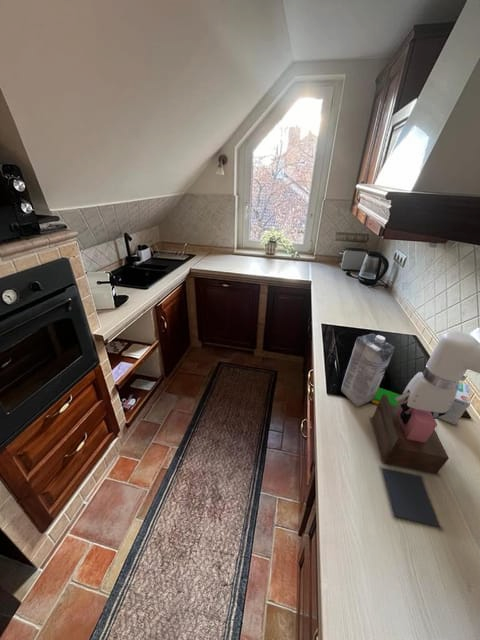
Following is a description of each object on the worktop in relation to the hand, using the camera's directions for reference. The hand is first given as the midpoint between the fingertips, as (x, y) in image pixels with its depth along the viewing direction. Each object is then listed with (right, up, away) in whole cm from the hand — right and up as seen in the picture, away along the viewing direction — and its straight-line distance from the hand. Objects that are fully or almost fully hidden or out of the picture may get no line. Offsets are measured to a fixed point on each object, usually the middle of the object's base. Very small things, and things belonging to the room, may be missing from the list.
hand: (413, 421), depth 75 cm
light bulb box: (+23, -3, +17) cm, 29 cm away
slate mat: (-7, -17, -7) cm, 20 cm away
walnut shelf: (0, -9, +6) cm, 11 cm away
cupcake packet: (0, -2, +1) cm, 3 cm away
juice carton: (-7, +1, +22) cm, 23 cm away
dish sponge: (+5, -1, +20) cm, 20 cm away
